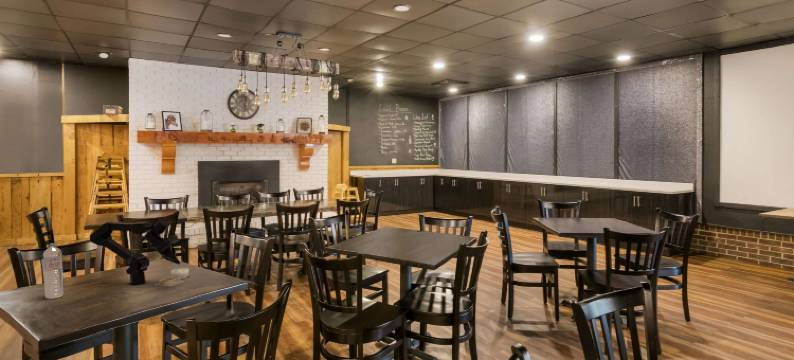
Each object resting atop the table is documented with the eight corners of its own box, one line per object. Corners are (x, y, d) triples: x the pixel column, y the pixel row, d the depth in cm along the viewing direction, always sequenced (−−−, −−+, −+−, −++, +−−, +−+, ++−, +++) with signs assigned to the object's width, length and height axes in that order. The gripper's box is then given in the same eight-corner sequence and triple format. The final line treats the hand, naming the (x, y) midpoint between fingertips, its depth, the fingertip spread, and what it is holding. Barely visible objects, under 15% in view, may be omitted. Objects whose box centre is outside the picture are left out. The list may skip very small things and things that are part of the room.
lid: (159, 284, 228) (159, 280, 228) (171, 280, 236) (171, 276, 236) (168, 285, 227) (168, 281, 226) (180, 281, 234) (180, 277, 234)
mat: (154, 285, 228) (154, 284, 228) (170, 280, 238) (170, 279, 238) (170, 287, 225) (170, 286, 225) (185, 282, 235) (185, 281, 235)
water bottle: (43, 300, 205) (41, 245, 203) (46, 295, 211) (44, 243, 209) (61, 298, 208) (59, 244, 206) (64, 293, 214) (62, 241, 213)
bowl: (167, 279, 239) (167, 271, 239) (180, 275, 247) (179, 267, 247) (180, 281, 237) (180, 272, 236) (192, 276, 244) (192, 268, 244)
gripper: (166, 224, 222) (188, 246, 222) (173, 234, 239) (194, 254, 238) (146, 240, 218) (169, 263, 217) (155, 249, 234) (176, 270, 233)
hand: (178, 262), depth 226 cm, fingers open, 9 cm apart
